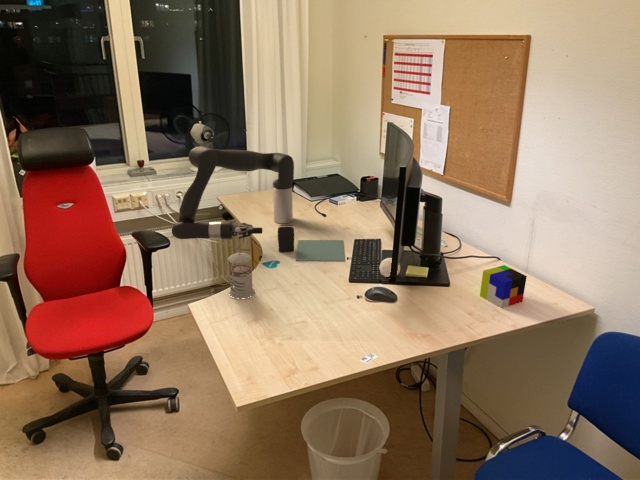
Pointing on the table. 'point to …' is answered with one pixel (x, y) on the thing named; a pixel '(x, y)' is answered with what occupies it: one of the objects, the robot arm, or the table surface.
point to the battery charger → (285, 238)
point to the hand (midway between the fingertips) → (262, 230)
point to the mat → (320, 250)
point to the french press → (240, 282)
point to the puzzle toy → (502, 286)
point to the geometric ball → (387, 267)
